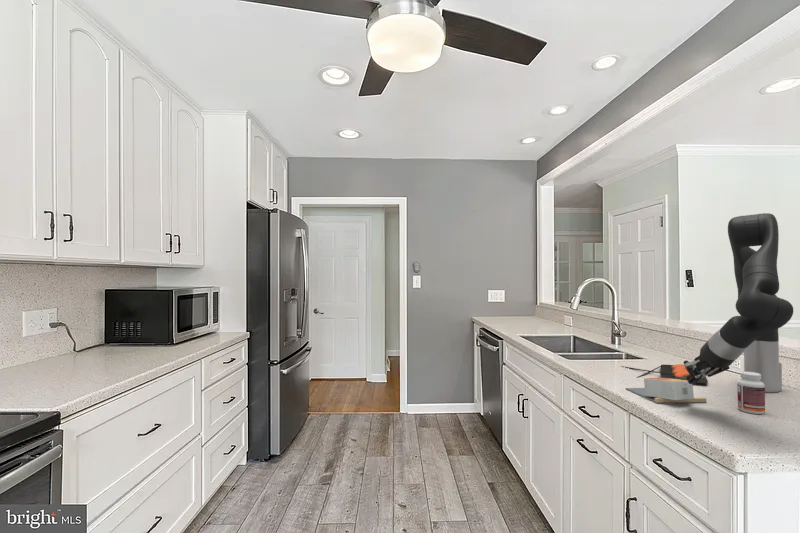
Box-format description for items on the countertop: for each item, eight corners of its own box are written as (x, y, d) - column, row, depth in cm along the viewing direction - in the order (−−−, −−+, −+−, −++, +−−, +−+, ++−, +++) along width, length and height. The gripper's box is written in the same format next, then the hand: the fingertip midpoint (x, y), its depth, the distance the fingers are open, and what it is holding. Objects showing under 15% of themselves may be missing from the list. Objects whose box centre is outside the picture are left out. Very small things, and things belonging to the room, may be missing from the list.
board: (669, 388, 145) (669, 384, 145) (706, 402, 129) (706, 398, 129) (625, 389, 144) (625, 385, 144) (657, 403, 128) (657, 399, 128)
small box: (675, 381, 124) (643, 378, 134) (677, 400, 124) (644, 396, 133) (692, 380, 127) (660, 377, 137) (694, 399, 126) (662, 394, 136)
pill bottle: (771, 413, 119) (770, 375, 119) (754, 415, 117) (753, 376, 118) (748, 407, 125) (748, 370, 125) (732, 408, 124) (731, 371, 124)
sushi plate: (709, 389, 147) (709, 378, 147) (614, 377, 163) (614, 367, 163) (701, 372, 172) (701, 363, 172) (620, 363, 188) (620, 355, 188)
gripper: (738, 336, 116) (703, 370, 128) (693, 336, 115) (662, 370, 127) (756, 359, 111) (718, 392, 122) (708, 359, 110) (675, 392, 122)
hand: (690, 381), depth 125 cm, fingers closed
